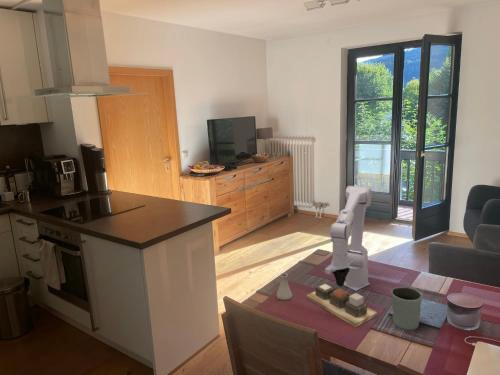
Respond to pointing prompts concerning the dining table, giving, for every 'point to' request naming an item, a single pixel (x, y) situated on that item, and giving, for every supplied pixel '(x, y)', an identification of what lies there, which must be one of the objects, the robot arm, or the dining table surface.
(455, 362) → the dining table surface
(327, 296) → the button panel
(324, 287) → the offwhite button
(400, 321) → the green cylindrical pot
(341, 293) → the terracotta button
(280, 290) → the flask
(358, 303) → the grey button
